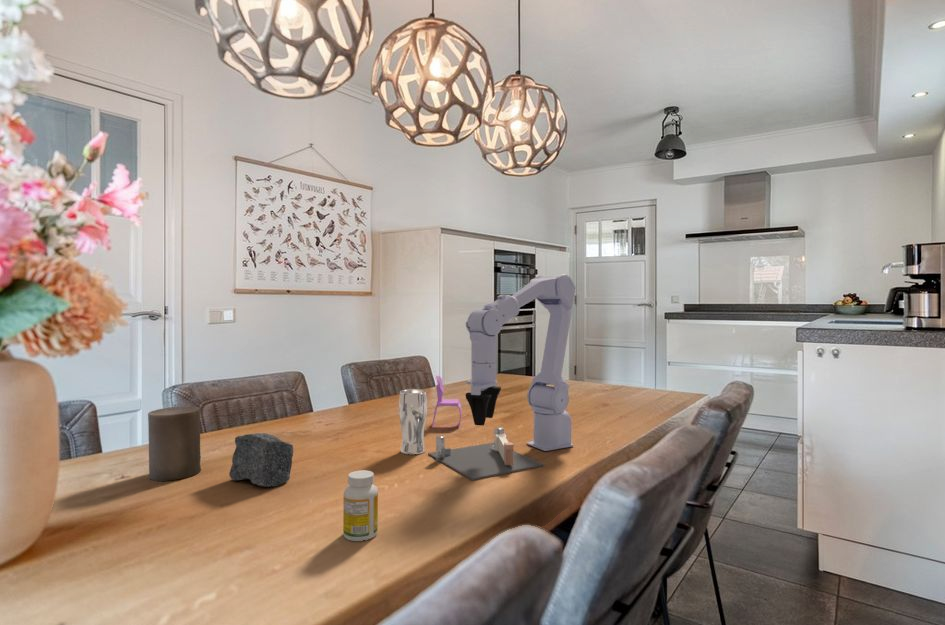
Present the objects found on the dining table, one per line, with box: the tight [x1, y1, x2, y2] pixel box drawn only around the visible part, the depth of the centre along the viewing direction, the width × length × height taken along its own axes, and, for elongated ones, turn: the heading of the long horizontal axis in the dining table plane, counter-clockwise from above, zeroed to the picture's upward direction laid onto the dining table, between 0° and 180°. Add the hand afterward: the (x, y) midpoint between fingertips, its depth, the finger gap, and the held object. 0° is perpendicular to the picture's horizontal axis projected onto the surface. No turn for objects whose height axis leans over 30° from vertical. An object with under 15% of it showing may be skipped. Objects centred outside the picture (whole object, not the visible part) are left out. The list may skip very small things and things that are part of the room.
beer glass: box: [398, 388, 428, 456], centre depth 127 cm, size 7×7×15 cm
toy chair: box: [431, 375, 462, 429], centre depth 154 cm, size 8×9×15 cm
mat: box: [428, 442, 546, 481], centre depth 120 cm, size 19×21×1 cm
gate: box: [495, 433, 515, 465], centre depth 120 cm, size 13×2×4 cm, turn 6°
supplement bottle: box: [342, 469, 379, 542], centre depth 81 cm, size 5×5×10 cm
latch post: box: [435, 435, 452, 463], centre depth 121 cm, size 4×3×6 cm
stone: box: [228, 432, 294, 488], centre depth 105 cm, size 12×8×10 cm, turn 64°
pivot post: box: [490, 426, 505, 451], centre depth 128 cm, size 4×4×6 cm
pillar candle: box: [147, 403, 202, 482], centre depth 110 cm, size 10×10×15 cm
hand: (483, 421), depth 118 cm, fingers open, 7 cm apart
